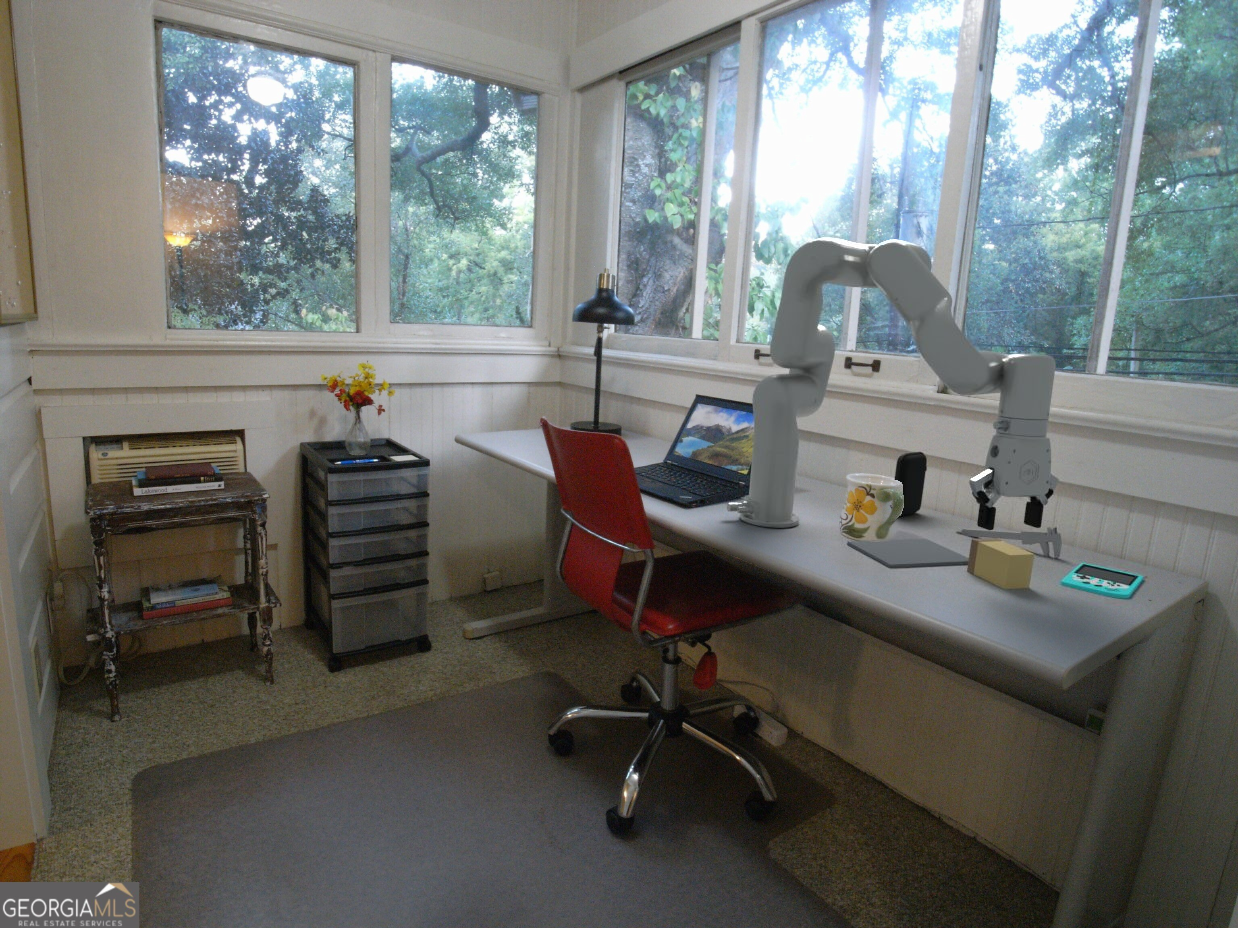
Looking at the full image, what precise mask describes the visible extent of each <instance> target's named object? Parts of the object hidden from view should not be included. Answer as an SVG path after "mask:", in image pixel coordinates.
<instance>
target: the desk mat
mask: <svg viewBox="0 0 1238 928" xmlns="http://www.w3.org/2000/svg"><path fill="white" fill-rule="evenodd" d="M889 540H890V541H887V542H870V541H871V540H854V541H853V540H852V541H851V540H850V541H847V543H846V544H847V545H848V546H850V547H851V548H853V549H855V550H857V551H859V552H860V553H862V554H864V555H866V556H868V557H870V558H871V559H873V560H875V561H877V562H879V563H880V564H883V565H884V566H886V567H888V568H889V569H892V568H893V569H894V568H913V567H914V568H916V567H917V568H918V567H934V566H935V567H937V566H938V567H939V566H940V567H941V566H956V565H968V561H969V556H968V557H967V556H966V555H963V554H961V553H958V552H957V551H956V552H955V551H954V550H952V549H950V548H948V547H945V546H943V545H941V544H939V543H937V542H934V541H933V540H931V539H930V540H929V539H927V538H909V539H908V538H907V539H903V538H902V539H889Z"/></svg>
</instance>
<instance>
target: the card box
mask: <svg viewBox="0 0 1238 928" xmlns="http://www.w3.org/2000/svg"><path fill="white" fill-rule="evenodd" d="M969 548H970V549H969V554H968V555H969V556H968V558H969V561H968V564H967V568H966V572H967V573H969V574H971V575H974V576H976V577H978V578H980V579H983V580H985V581H987V582H989V583H991V584H993V585H995V586H997V587H998V588H1001V589H1004V590H1017V589H1029V588H1030V585H1031V578H1032V573H1033V567H1034V561H1035V553H1033V552H1031V551H1028V550H1025V549H1023V548H1021V547H1018V546H1015V545H1013V544H1010V543H1008V542H1005V541H1003V540H1002V539H1000V538H986V537H980V538H971V542H970V547H969Z"/></svg>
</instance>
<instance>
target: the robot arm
mask: <svg viewBox="0 0 1238 928" xmlns="http://www.w3.org/2000/svg"><path fill="white" fill-rule="evenodd" d="M932 267H933V265H932V260H931V256H930V255H929V253H928V252H927V250H926V249H924V248H923V247H922V246H920V245H918V244H915V243H912V242H908V241H904V240H900V239H889V240H886V241H883V242H880V243H879V244H865V243H864V244H863V243H857V242H853V241H849V240H845V239H840V238H835V237H820V238H816V239H813V240H810V241H808V242H806V243H804V244H802V246H800V247H799V248H798V249H797V250H795V252H794V253H793V254H792V255H791V257H790V259H789V261H788V263H787V265H786V269H785V273H784V277H783V283H782V289H781V290H782V291H781V297H780V300H779V305H778V309H777V314H776V318H775V323H774V326H773V331H772V332H773V333H772V336H771V339H770V340H771V341H770V346H769V355H770V358H771V361H773V363H774V364H775V365H776V366H777V367H780V368H782V369H783V368H784V369H789V372H788V373H778V374H777V373H776V374H771V375H769V376H766V377H764V378H763V379H761V380H760V381H759V382H758V383H757V385H756V386H755V388H754V390H753V393H752V414H753V443H752V457H751V469H750V478H749V481H750V482H749V491H748V496H747V497H744V498H743V499H744V500H741V501H740V502H727V503H726V510H727V512H736V513H737V514H739V517H740V520H742V521H743V522H745V523H748V524H751V525H753V526H758V527H764V528H775V529H776V528H777V529H783V528H784V529H786V528H787V529H788V528H792V527H797V526H798V525H799V524H800V517H799V516H798V515H797V514H795V513H793V512H794V511H793V510H794V503H795V502H794V501H795V491H796V480H797V467H798V461H799V460H798V459H799V449H800V434H799V427H798V423H797V419H798V418H805V417H809V416H811V415H814V414H815V413H816V412H817V411H818V410H819V409H820V407H821V406H822V404H823V401H824V398H825V396H826V393H827V387H828V385H829V380H830V376H831V371H832V368H833V367H832V366H833V363H834V359H835V353H836V344H835V339H834V336H833V334H832V333H831V331H830V330H829V329H828V328H827V327H826V326H824V325H822V324H820V318H821V314H822V311H823V305H824V296H823V295H824V294H823V286H825V285H828V284H829V285H835V286H841V287H848V288H866V289H879V290H880V291H881V293H882V294H883V295H884V296H885V298H886V299H887V300H888V301H889V303H890V304H891V305H892V307H893V308H894V309H895V310H896V311H897V313H898V314H899V315H900V317H902V320H903V321H904V322H905V323H906V325H908V327H909V329H910V333H911V336H912V339H913V340H914V343H915V345H916V347H917V349H918V351H919V354H920V355H921V357H923V359H924V361H925V362H926V363H927V365H928V367H930V368H931V370H932V371H933V373H934V374H935V375H936V376H937V378H938V379H940V382H941V383H942V384H944V386H945V387H947V389H949V390H951V391H952V392H953V393H956V394H958V395H961V396H978V395H979V396H980V395H989V394H1000V395H999V403H998V409H997V410H998V412H997V420H996V421H994V422H993V425H992V426H993V429H994V430H995V434H993V435H992V437H991V440H990V444H989V447H988V451H987V455H986V457H985V458H986V459H985V464H984V469H983V471H982V472H980V474H978V475H976V476H974V477H972V478H971V479H970V480H969V482H968V483H969V486H970V490H971V491H972V493H971V495H972V496H973V497H974V499H975V501H976V503H977V504H978V506H979V507H978V514H977V520H976V521H977V522H976V525H977V527H978V528H981V529H983V530H994V529H995V523H996V522H995V521H996V512H997V507H996V506H994V505H995V504H996V503H997V502H998V501H999V499H1000V498H1001V497H1005V498H1023V497H1025V498H1027V497H1028V500H1029V501H1026V503H1025V510H1024V516H1023V517H1024V518H1023V524H1024V525H1027V526H1029V527H1033V528H1035V529H1040V528H1041V527H1042V522H1043V515H1044V507H1045V506H1046V505H1048V503H1049V499H1050V498H1051V497H1052V496H1053V495H1054V490H1055V489H1056V488H1057V486H1058V484H1059V482H1060V479H1059V478H1058V477H1056V476H1055V475H1053V474H1052V446H1051V440H1050V439H1051V438H1050V437H1047V433H1048V426H1049V421H1050V420H1049V417H1050V411H1051V405H1052V404H1051V403H1052V395H1053V389H1054V382H1055V381H1054V380H1055V373H1056V360H1055V358H1054V357H1053V356H1051V355H1047V354H1041V353H1012V354H1010V353H1009V354H1008V353H1003V352H999V351H991V350H978V349H977V348H976V347H975V346H974V345H973V344H972V342H970V340H969V339H968V338H967V337H966V335H965V334H964V333H963V332H962V330H961V329H960V328H959V326H958V325H957V323H956V320H955V319H954V317H953V313H952V307H953V297H952V295H951V294H950V292H949V291H948V290H947V288H946V287H945V286H944V285H943V283H941V281H940V280H939V279H938V278H937V277H936V275H934V273H933V272H932Z"/></svg>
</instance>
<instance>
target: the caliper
mask: <svg viewBox="0 0 1238 928" xmlns="http://www.w3.org/2000/svg"><path fill="white" fill-rule="evenodd" d="M1046 530H1047V531H1041V530H1022V531H1021V532H1019V531H1009V530H1008V531H1006V530H1005V531H1004V530H994V529H993V530H987V529H977V528H961V530H956V531H955V534H961V535H962V534H963V536H965V537H966V536H967V537H976V538H997V539H999V540H1002V539H1003V540H1014V541H1021V543H1022V545H1030V546H1031V545H1035V544H1039V546H1040V548H1041V550H1042V553H1043V556H1044V557H1046V558H1048V557H1050V553H1051V551H1050V543H1052V548H1053V557H1054V560H1055V559H1058V558H1060V557H1061V552H1062V544H1063V541H1062V535H1061V532H1058V530H1057V526H1056V527H1053V528H1051V526H1048V527H1046Z"/></svg>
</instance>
